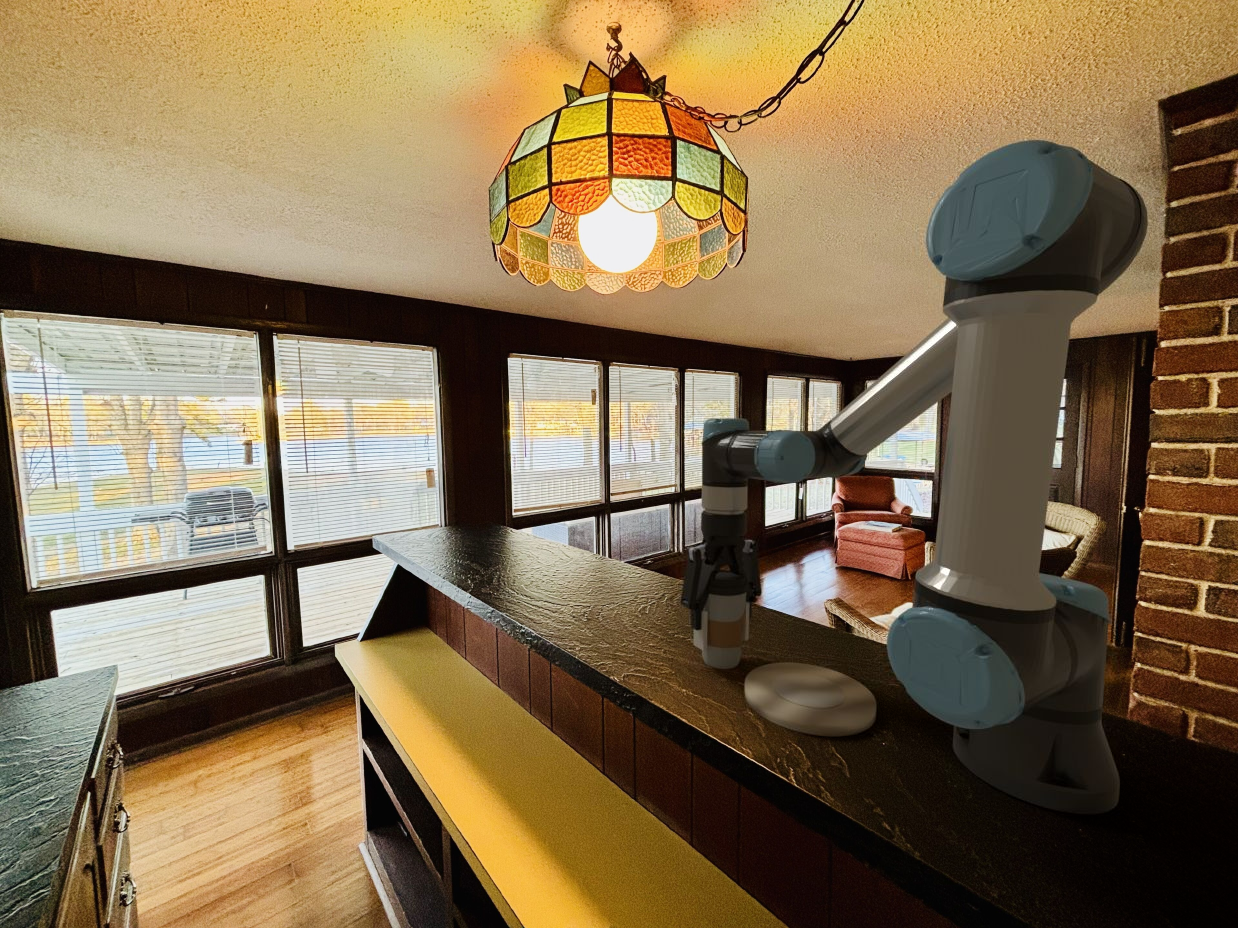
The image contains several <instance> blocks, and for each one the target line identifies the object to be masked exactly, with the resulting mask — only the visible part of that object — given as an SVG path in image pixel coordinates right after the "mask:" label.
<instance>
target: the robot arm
mask: <svg viewBox="0 0 1238 928" xmlns="http://www.w3.org/2000/svg"><path fill="white" fill-rule="evenodd" d="M1148 226H1149V221H1148V210H1147V207H1146V203H1145V201H1144V198H1143V197H1142V195H1141V194H1140V193H1139V191H1138V190H1137V189H1136V188H1135V187H1134V186H1132V185H1131V184H1130V183H1128V182H1127V181H1125V180H1124V179H1122V178H1120V177H1118V176H1115V175H1114V174H1112V173H1111V172H1110V171H1107V170H1106V169H1104V168H1102V167H1101V166H1100V165H1098V164H1096V163H1095V162H1093V161H1092V160H1090V159H1089V158H1088V157H1087V155H1085V154H1084V153H1083V152H1082V151H1080V150H1079V149H1077V148H1075V147H1073V146H1067V145H1062V144H1058V143H1055V142H1052V141H1049V140H1043V139H1042V140H1041V139H1040V140H1039V139H1030V140H1028V139H1027V140H1022V141H1018V142H1017V141H1016V142H1013V143H1010V144H1007V145H1003V146H1002V147H999V148H996V149H994V150H992V151H991V152H989V153H987V154H985V155H984V156H982V157H979V159H977V160H976V161H974V162H972V163H971V164H970V165H969V166H967V167H966V168H965V169H964V170H963V171H962V172H961V173H960V174H959V176H958V177H957V179H955V181H954V182H953V183H952V185H950V186H948V187H947V188H946V189H945V190H944V192H943V193H942V195H941V196H940V198H939V200H937V203H936V204H935V206H934V208H933V209H932V212H931V214H930V218H929V220H928V224H927V228H926V235H925V245H926V251H927V254H928V257H929V259H930V262H931V263H932V264H933V265H934V267H935V269H936V270H938V271H939V272H940V274H942V275H943V276H945V281H944V283H945V284H944V290H943V291H944V293H943V302H942V304H943V305H942V313H943V314H944V315H945V316H946V317H947V319H945V320H944V321H943V322H941V324H939V326H937V327H936V328H934V330H933V331H931V332H930V333H929V334H928V335H927V336H926V337H924V338H923V339H922V340H921V341H920V342H919V343H917V344H916V345H915V346H914V347H913V348H912V349H911V350H910V351H908V352H907V353H906V354H905V355H903V356H902V357H901V358H900V359H899V360H898V361H897V362H895V364H894V365H892V366H891V367H890V368H889V369H887V371H885V372H884V373H883V374H882V375H881V376H880V377H878V378H877V379H876V380H875V381H874V382H873V383H871V384H870V386H868V387H867V388H865V390H863V391H862V392H861V393H860V394H859V395H858V396H857V397H856V398H855V399H853V400H852V401H851V402H849V404H848V405H846V406H845V407H844V408H843V409H841V410H840V411H839V412H838V413H837V414H836V415H835V416H834V417H833V418H831V419H830V420H828V421H827V422H826V423H825V424H824V425H823V426H822V427H820V428H819V429H816V430H789V429H784V430H783V429H775V430H750V426H749V425H750V424H749V421H748V419H746V418H734V417H733V418H731V417H730V418H726V417H724V418H708V419H707V420H706V421H705V422H704V423H703V431H702V440H701V508H703V509H704V510H702V512H701V516H700V518H701V519H700V531H701V533H702V540H701V542H700V545H697V546H690V545H689V546H687V547H686V549H685V551H686V552H685V554H686V567H685V571H684V578H683V583H682V590H681V596H680V605H681V606H682V607H685V608H686V609H688V610H690V627H691V629H693V644H692V645H693V646H695V647H696V648H698V649H700V650H701V651H702V650H703V651H705V650H707V622H708V611H706V610H704V607H705V604H706V601H707V598H708V596H709V594H708V592H709V586H710V585H711V579H715V576H716V574H717V573H719V571H720V569H722V568H723V567H726V566H727V567H728V570H730V571H731V572H732V573H733V574H736V575H741V574H743V575H744V576H745V581H746V582H747V589H748V590H747V592H746V601H745V618H744V629H743V640H742V641H749V638H750V637H749V634H750V620H751V619H752V614H753V613H752V611H753V610H752V609H753V608H752V607H753V605H752V603H753V604H756V602H758V598H759V597H761V596H762V595H763V594H762V593H763V592H762V584H761V574H760V569H759V568H760V567H759V560H758V558H759V557H758V553H759V552H758V551H759V542H757V541H755V540H752V539H749V538H744V536H745V535H746V534H747V527H748V526H747V524H748V519H747V518H748V514H747V512H745V511H746V510H747V509H748V483H749V481H748V480H749V479H753V480H754V479H755V480H762V481H768V482H773V483H776V484H780V483H785V484H786V483H788V484H789V483H790V484H795V483H800V482H802V481H803V480H807V479H817V478H818V479H821V478H830V479H831V478H832V479H838V478H843V477H846V476H851V475H854V474H856V473H858V472H859V471H860V470H861V469H862V468H863V467H864V466H865V464H866V461H867V458H868V454H869V453H871V452H872V451H873V450H874V449H876V448H877V447H879V446H880V445H881V444H882V443H884V442H885V441H887V440H888V439H890V438H891V437H893V436H894V435H895V434H896V433H898V432H899V431H900V430H902V429H903V428H905V426H907V425H908V424H910V423H911V422H912V421H914V420H915V419H916V418H918V417H919V416H921V415H922V414H924V413H925V412H927V410H929V409H930V408H932V407H933V406H935V405H936V404H937V403H938V402H940V401H941V400H942V399H944V398H945V397H946V396H948V395H950V394H951V399H950V405H949V406H950V407H949V416H948V425H947V436H946V444H945V455H944V463H943V471H942V472H943V473H942V482H941V491H940V500H939V502H940V503H939V511H938V517H937V518H938V519H937V520H938V521H937V526H936V527H937V528H936V529H937V530H936V537H935V546H934V547H935V548H934V556H933V557H934V558H933V560H932V561H931V562H928V563H927V564H926V565H924V566H923V567H921V568H919V569H918V570H917V571H916V573H915V579H914V587H913V595H912V596H913V598H912V606H911V607H909V608H908V609H906V610H905V611H904V612H902V613H901V614H900V615H898V617H896V618H895V619H894V621H893V622H892V623H891V625H890V627H889V630H888V633H887V637H886V650H887V651H886V652H887V656H888V660H889V663H890V666H891V668H892V670H893V673H894V675H895V677H896V679H897V680H898V682H900V683H901V684H902V685H903V686H904V688H905V690H906V693H907V694H908V695H909V696H910V698H912V700H913V701H914V702H915V703H917V704H918V706H920V707H921V708H922V709H923V710H925V711H926V712H928V713H929V714H930V715H932V716H934V717H935V718H937V719H939V720H940V721H942V722H944V723H947V724H949V725H953V734H952V735H953V736H952V737H953V738H952V749H953V752H954V754H955V755H956V758H957V759H958V760H959V761H960V762H961V763H962V764H963V766H964V767H966V769H968V771H970V772H971V773H972V774H974V775H975V776H976V777H978V778H979V779H981V780H982V781H983V782H985V783H987V784H989V785H990V786H992V787H993V788H995V789H997V790H1000V791H1002V792H1004V793H1005V794H1007V795H1010V796H1011V797H1013V798H1017V799H1018V800H1019V799H1020V800H1022V801H1024V802H1027V803H1030V804H1033V805H1035V806H1039V807H1043V808H1045V809H1050V810H1053V811H1058V812H1061V813H1062V812H1063V813H1069V814H1077V815H1097V814H1098V815H1099V814H1104V813H1108V812H1110V811H1112V810H1113V809H1115V807H1117V806H1118V803H1119V800H1120V799H1119V798H1120V785H1121V783H1120V781H1121V780H1120V776H1119V771H1118V768H1117V766H1116V763H1115V760H1114V757H1113V755H1112V752H1111V748H1110V746H1109V742H1108V740H1107V737H1106V734H1105V730H1104V728H1103V725H1102V715H1103V701H1104V689H1105V687H1104V686H1105V675H1106V663H1107V662H1106V660H1107V647H1108V645H1107V644H1108V637H1109V635H1108V634H1109V624H1111V622H1112V620H1111V619H1112V618H1111V616H1110V613H1109V612H1110V609H1109V608H1110V607H1109V598H1108V595H1107V594H1106V593H1105V591H1104V590H1102V589H1101V588H1099V587H1097V586H1095V585H1093V584H1090V583H1086V582H1083V581H1080V580H1074V579H1071V578H1066V577H1062V576H1058V575H1053V574H1052V575H1051V574H1046V573H1041V572H1040V567H1041V566H1040V565H1041V558H1042V551H1043V543H1044V536H1045V528H1046V520H1047V513H1048V512H1047V511H1048V505H1049V496H1050V491H1051V489H1050V488H1051V483H1052V474H1053V466H1054V458H1055V452H1056V444H1057V435H1058V428H1059V427H1058V426H1059V421H1060V420H1059V419H1060V411H1061V407H1062V406H1061V404H1062V399H1063V397H1062V396H1063V391H1064V384H1065V383H1064V381H1065V375H1066V366H1067V359H1068V351H1069V345H1070V344H1069V343H1070V335H1071V327H1072V324H1073V322H1074V321H1075V319H1076V318H1078V317H1079V316H1080V315H1081V314H1083V313H1084V312H1086V311H1087V310H1088V309H1089V308H1091V307H1092V306H1094V304H1096V303H1097V301H1098V297H1099V295H1101V294H1102V293H1103V292H1105V290H1107V289H1108V288H1109V287H1111V285H1113V284H1114V282H1117V280H1118V279H1119V278H1120V277H1121V276H1122V275H1123V274H1124V273H1125V272H1126V271H1127V270H1128V269H1129V267H1130V266H1131V265H1132V264H1133V263H1132V262H1133V261H1134V260H1135V259H1136V257H1137V255H1139V253H1140V250H1141V249H1142V247H1143V244H1144V242H1145V239H1146V237H1147V232H1148Z"/></svg>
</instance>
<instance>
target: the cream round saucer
mask: <svg viewBox="0 0 1238 928" xmlns="http://www.w3.org/2000/svg"><path fill="white" fill-rule="evenodd" d="M744 697H745V700H746V703H747V704H748V705H749V706H750V707H751V709H753V710H754V712H756V713H757V714H759V715H760V716H761V717H763V718H765V719H766V720H767V721H769V722H772V723H774V724H776V725H778V726H780V727H783V728H785V729H788V730H791V731H793V732H794V731H795V732H798V733H802V734H806V735H807V734H808V735H813V736H819V737H820V736H821V737H845V736H846V737H847V736H852V735H857V734H860V733H862V732H864V731H866V730H868V729H870V728H871V727H872V726H873V725H874V723H875V721H876V719H877V700H876V698H875V696H874V695H873V693H872V692H871V691H870V690H869V689H868V688H867V687H866V686H865V685H863V684H862V683H861V682H859V681H858V680H856V679H855V678H852V677H850V676H848V675H846V674H845V673H842V672H839V671H836V670H833V669H830V668H827V667H822V666H820V665H819V666H818V665H814V664H808V663H802V662H801V663H799V662H774V663H768V664H763V665H761V666H758V667H756V668H754V669H752V670H750V672H749V673H748V674H746V677H745V679H744Z"/></svg>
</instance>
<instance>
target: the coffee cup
mask: <svg viewBox="0 0 1238 928" xmlns="http://www.w3.org/2000/svg"><path fill="white" fill-rule="evenodd" d="M747 590H748V589H747V582H746V581H745V576H744V575H743V574H741V575H736V574H733V573H732V572H731V571H730V569H722V568H721V569H720V571H719V573H717V574H716V576H715V579H711V585H710V586H709V592H708V594H709V596H708V598H707V601H706V604H705V607H704V610H706V611H708V622H707V650H705V651H703V650H701V656H702V659H703V662H704V663H705V664H706V665H707V666H710V667H711V668H716V669H720V670H721V669H722V670H729V669H733V668H734V669H735V668H736V667H737V666H738V665H739V662H740V661H741V652H742V647H743V641H744V640H743V629H744V618H745V601H746V592H747Z"/></svg>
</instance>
